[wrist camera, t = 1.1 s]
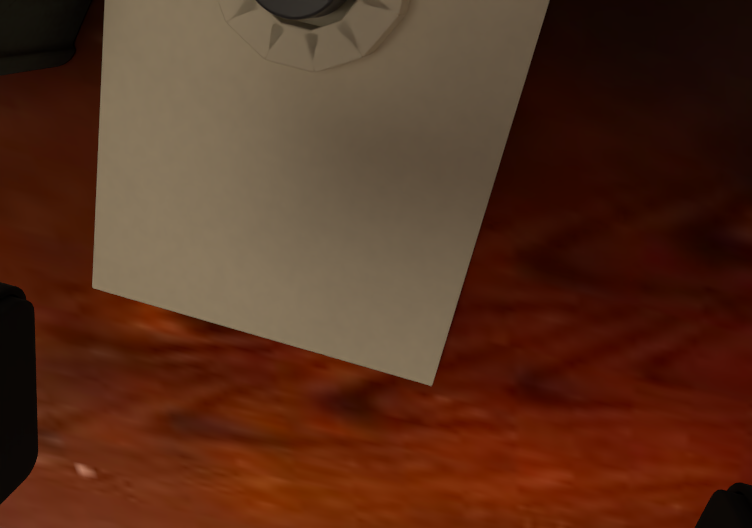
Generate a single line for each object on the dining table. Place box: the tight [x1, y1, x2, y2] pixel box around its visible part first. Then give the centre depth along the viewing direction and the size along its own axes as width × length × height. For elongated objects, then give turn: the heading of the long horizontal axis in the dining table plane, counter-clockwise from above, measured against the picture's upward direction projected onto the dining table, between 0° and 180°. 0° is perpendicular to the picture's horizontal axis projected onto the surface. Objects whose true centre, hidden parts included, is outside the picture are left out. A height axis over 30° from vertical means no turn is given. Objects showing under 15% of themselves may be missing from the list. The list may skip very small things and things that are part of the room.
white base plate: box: [92, 0, 550, 386], centre depth 22 cm, size 16×14×3 cm
